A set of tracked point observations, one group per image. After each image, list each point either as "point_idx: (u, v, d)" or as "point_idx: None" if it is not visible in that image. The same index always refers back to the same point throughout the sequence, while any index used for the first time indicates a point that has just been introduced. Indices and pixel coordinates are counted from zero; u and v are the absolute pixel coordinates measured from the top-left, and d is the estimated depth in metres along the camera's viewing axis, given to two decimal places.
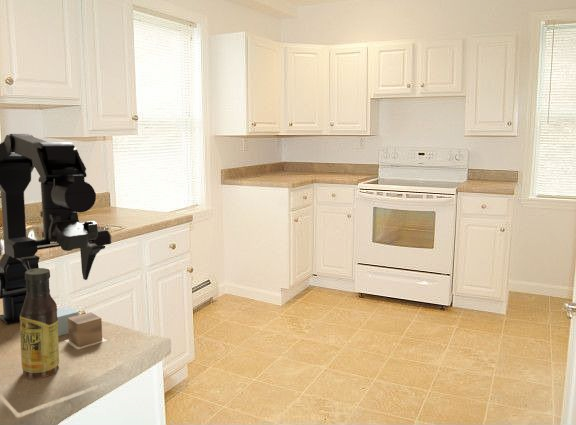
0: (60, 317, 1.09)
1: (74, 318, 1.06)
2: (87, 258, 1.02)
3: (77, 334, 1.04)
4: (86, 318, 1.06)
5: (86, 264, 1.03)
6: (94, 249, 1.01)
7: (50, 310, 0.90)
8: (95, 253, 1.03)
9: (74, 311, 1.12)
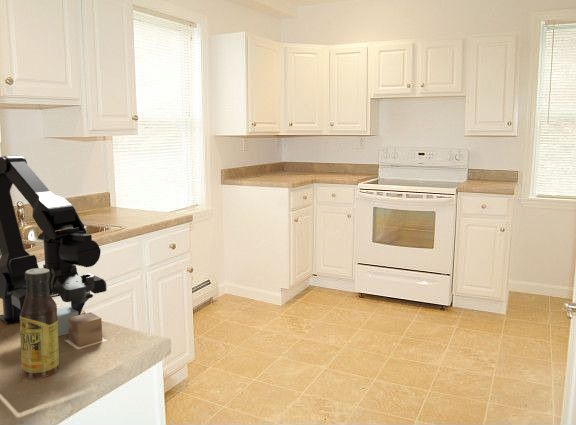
0: (60, 317, 1.09)
1: (74, 318, 1.06)
2: (76, 306, 1.13)
3: (77, 334, 1.04)
4: (86, 318, 1.06)
5: None
6: (83, 299, 1.12)
7: (50, 310, 0.90)
8: (84, 302, 1.14)
9: (74, 311, 1.12)
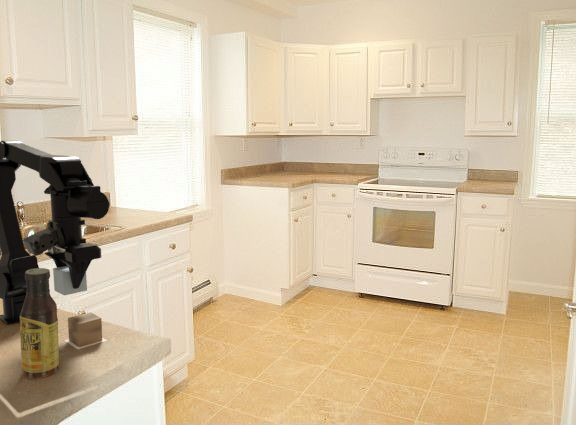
0: (55, 270, 1.09)
1: (74, 318, 1.06)
2: None
3: (77, 334, 1.04)
4: (86, 318, 1.06)
5: None
6: (62, 261, 1.04)
7: (50, 310, 0.90)
8: (69, 266, 1.05)
9: (66, 271, 1.07)
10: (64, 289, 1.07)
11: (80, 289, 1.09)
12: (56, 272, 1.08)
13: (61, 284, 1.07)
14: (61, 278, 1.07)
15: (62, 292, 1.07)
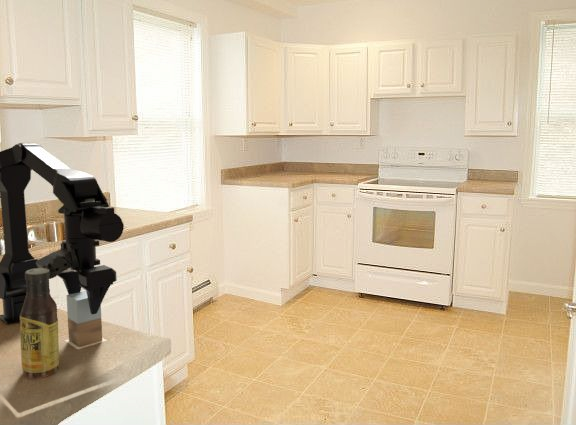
0: (68, 297, 1.05)
1: None
2: None
3: (77, 334, 1.04)
4: None
5: None
6: (80, 286, 0.99)
7: (50, 310, 0.90)
8: (87, 291, 1.00)
9: (80, 299, 1.03)
10: (78, 317, 1.03)
11: (94, 317, 1.06)
12: (70, 299, 1.05)
13: (74, 312, 1.04)
14: (75, 306, 1.03)
15: (76, 320, 1.04)
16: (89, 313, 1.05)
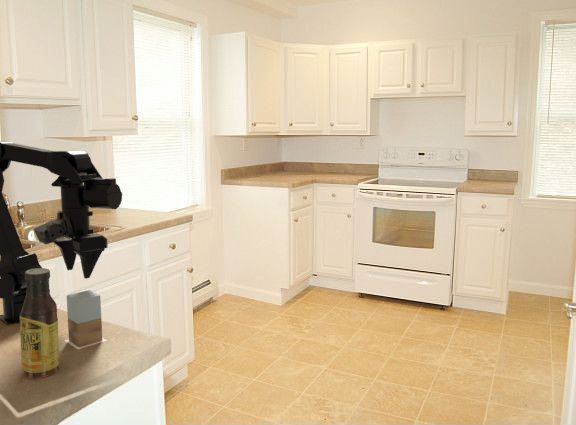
0: (68, 297, 1.05)
1: None
2: None
3: (77, 334, 1.04)
4: None
5: None
6: (74, 251, 1.09)
7: (50, 310, 0.90)
8: (81, 256, 1.09)
9: (80, 299, 1.03)
10: (78, 317, 1.03)
11: (94, 317, 1.06)
12: (70, 299, 1.05)
13: (74, 312, 1.04)
14: (75, 306, 1.03)
15: (76, 320, 1.04)
16: (89, 313, 1.05)
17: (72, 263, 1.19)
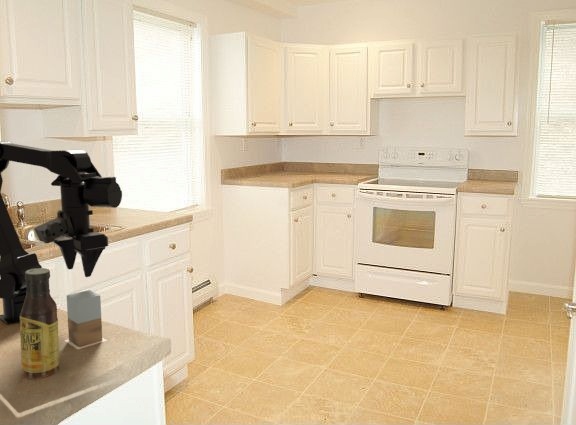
0: (68, 297, 1.05)
1: None
2: None
3: (77, 334, 1.04)
4: None
5: None
6: (75, 250, 1.09)
7: (50, 310, 0.90)
8: (82, 255, 1.10)
9: (80, 299, 1.03)
10: (78, 317, 1.03)
11: (94, 317, 1.06)
12: (70, 299, 1.05)
13: (74, 312, 1.04)
14: (75, 306, 1.03)
15: (76, 320, 1.04)
16: (89, 313, 1.05)
17: (72, 262, 1.19)
